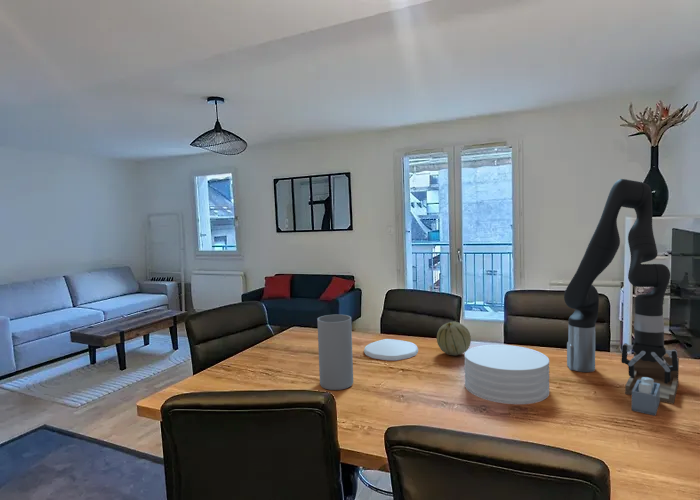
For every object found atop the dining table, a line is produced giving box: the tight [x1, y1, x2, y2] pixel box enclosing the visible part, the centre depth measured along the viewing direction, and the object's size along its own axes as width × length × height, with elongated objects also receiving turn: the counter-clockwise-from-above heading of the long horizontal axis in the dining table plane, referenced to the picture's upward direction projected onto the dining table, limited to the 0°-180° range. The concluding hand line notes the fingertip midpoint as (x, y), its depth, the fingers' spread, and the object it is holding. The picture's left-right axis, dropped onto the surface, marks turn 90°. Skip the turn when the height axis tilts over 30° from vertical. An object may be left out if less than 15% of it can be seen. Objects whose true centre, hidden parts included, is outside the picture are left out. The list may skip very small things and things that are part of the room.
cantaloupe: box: [436, 321, 472, 356], centre depth 188 cm, size 15×15×15 cm
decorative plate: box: [363, 338, 419, 361], centre depth 197 cm, size 25×4×25 cm
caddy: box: [631, 377, 661, 417], centre depth 133 cm, size 12×6×8 cm, turn 139°
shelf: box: [624, 351, 680, 405], centre depth 145 cm, size 20×13×9 cm, turn 139°
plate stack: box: [464, 344, 550, 405], centre depth 151 cm, size 28×28×12 cm
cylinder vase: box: [316, 314, 354, 391], centre depth 158 cm, size 12×12×25 cm
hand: (649, 380), depth 132 cm, fingers open, 8 cm apart
